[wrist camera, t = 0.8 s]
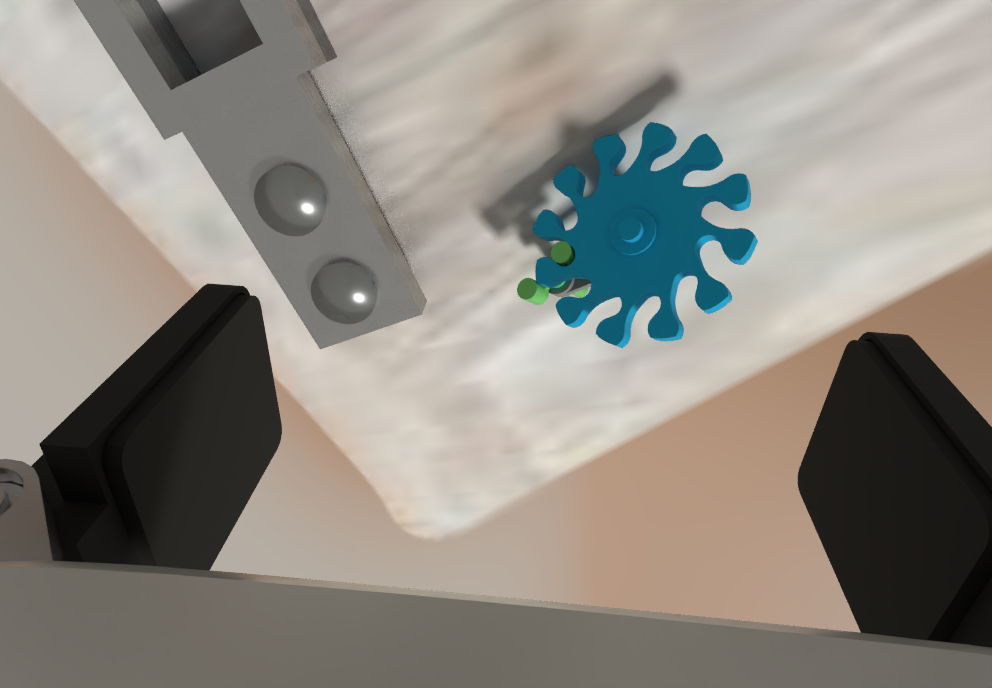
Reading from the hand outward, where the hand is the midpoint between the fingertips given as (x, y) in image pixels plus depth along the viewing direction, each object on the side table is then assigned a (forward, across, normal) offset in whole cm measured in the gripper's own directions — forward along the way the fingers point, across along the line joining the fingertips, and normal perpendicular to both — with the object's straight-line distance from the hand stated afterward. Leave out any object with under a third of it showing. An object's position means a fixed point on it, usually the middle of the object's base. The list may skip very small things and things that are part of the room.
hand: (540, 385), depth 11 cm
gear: (+23, -4, +5) cm, 24 cm away
